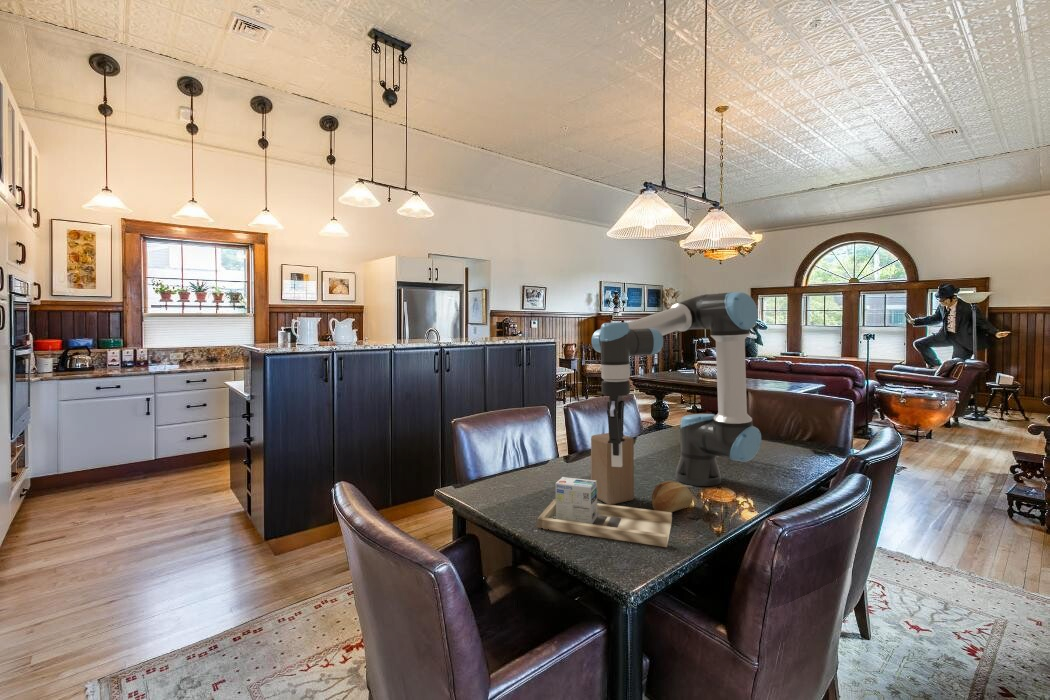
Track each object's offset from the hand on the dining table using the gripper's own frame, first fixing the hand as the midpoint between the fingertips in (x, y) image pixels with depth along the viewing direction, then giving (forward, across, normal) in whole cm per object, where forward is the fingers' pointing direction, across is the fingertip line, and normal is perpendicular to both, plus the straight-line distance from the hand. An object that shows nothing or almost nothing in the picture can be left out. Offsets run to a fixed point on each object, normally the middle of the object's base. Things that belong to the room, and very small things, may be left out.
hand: (617, 465), depth 129 cm
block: (+17, -20, -5) cm, 27 cm away
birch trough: (+17, +1, -3) cm, 17 cm away
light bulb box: (+17, 0, -12) cm, 20 cm away
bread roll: (+17, -17, +13) cm, 27 cm away
